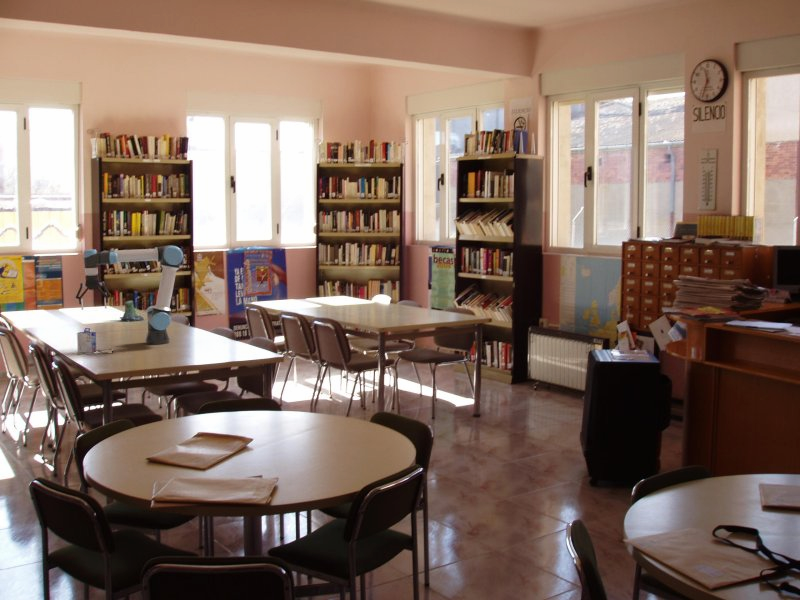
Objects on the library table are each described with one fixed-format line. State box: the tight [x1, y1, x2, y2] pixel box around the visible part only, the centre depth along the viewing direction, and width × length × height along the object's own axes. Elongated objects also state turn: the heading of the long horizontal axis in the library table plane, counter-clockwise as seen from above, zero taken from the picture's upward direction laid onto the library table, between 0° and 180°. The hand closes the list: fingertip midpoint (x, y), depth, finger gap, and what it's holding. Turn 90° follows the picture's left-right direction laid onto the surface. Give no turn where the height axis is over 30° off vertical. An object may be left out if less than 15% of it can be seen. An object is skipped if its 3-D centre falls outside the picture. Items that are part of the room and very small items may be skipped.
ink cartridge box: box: [76, 327, 97, 353], centre depth 521 cm, size 10×6×14 cm, turn 79°
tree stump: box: [119, 300, 146, 322], centre depth 667 cm, size 18×20×18 cm
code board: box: [77, 348, 108, 355], centre depth 523 cm, size 20×14×1 cm
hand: (94, 308), depth 528 cm, fingers open, 13 cm apart
